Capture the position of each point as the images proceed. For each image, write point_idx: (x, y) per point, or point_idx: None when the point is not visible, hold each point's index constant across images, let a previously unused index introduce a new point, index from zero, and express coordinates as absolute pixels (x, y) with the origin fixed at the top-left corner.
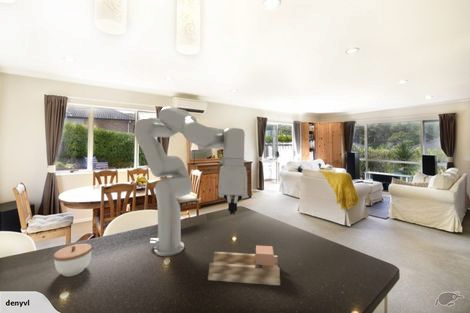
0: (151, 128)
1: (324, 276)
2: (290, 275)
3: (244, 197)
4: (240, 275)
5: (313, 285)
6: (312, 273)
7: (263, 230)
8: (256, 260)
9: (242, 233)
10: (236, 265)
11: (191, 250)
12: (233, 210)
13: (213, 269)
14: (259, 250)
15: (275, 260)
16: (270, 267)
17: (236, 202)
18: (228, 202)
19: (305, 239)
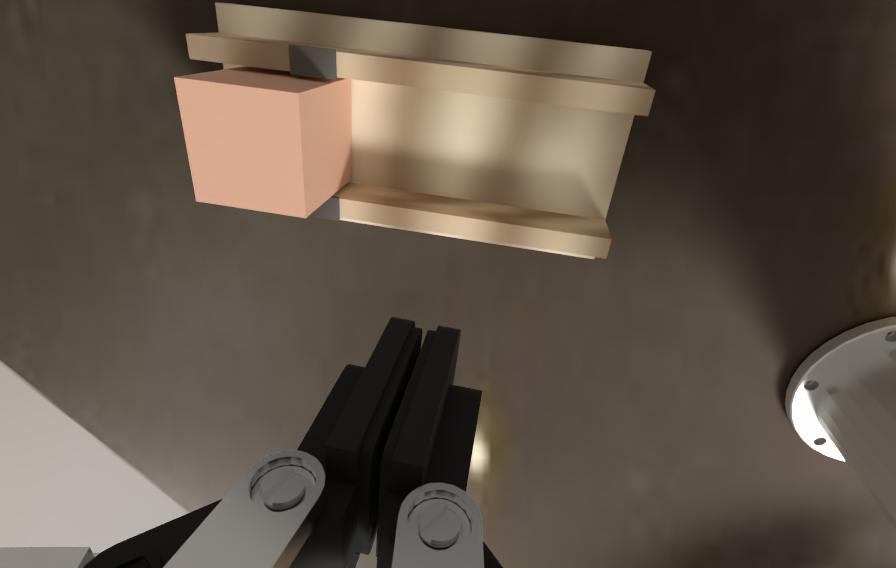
0: None
1: (26, 92)
2: None
3: (19, 564)
4: (441, 56)
5: (69, 10)
6: (81, 119)
7: None
8: (315, 85)
9: None
10: (458, 76)
11: (736, 363)
12: (389, 350)
13: (617, 82)
14: (276, 141)
15: None
16: (241, 55)
17: (278, 472)
18: (460, 501)
19: (128, 408)
